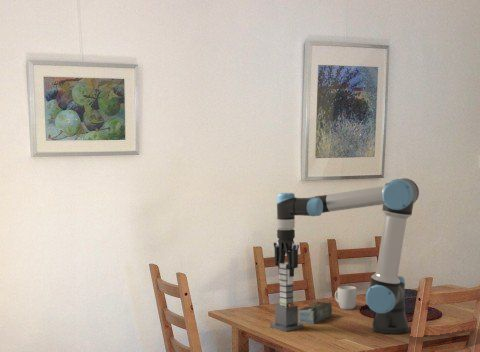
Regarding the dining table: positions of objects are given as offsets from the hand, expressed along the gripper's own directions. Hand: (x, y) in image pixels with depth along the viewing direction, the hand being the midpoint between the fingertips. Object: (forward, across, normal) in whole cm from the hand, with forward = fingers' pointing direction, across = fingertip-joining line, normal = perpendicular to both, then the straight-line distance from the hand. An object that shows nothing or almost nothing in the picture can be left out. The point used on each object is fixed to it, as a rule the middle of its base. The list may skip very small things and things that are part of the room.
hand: (286, 283), depth 307 cm
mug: (+19, +10, -48) cm, 53 cm away
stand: (+19, 0, 0) cm, 19 cm away
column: (+11, 0, 0) cm, 11 cm away
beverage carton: (+20, +3, -21) cm, 29 cm away
